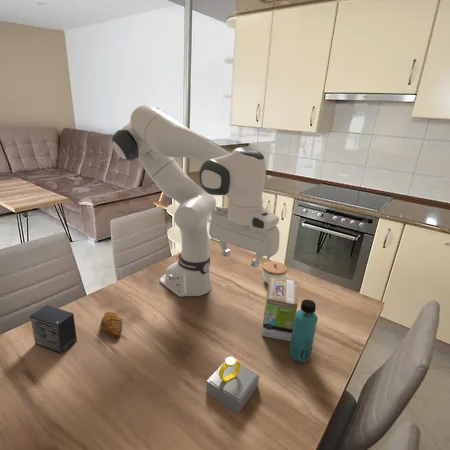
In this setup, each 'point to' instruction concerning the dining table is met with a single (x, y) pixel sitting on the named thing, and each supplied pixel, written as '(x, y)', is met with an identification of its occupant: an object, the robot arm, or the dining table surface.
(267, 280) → the lidded jar
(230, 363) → the yellow ring-shaped piece
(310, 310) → the beverage bottle
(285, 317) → the tea box
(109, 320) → the croissant
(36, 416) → the dining table surface
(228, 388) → the base
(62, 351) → the small box
